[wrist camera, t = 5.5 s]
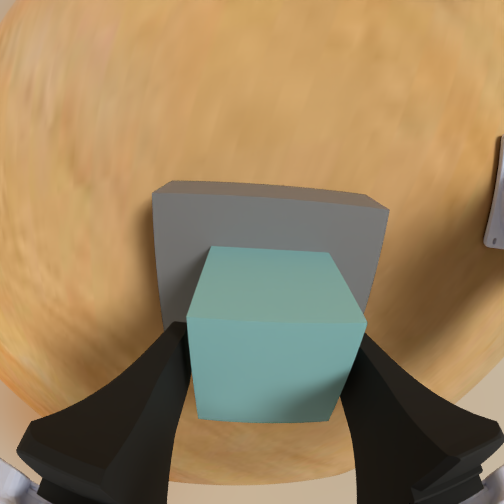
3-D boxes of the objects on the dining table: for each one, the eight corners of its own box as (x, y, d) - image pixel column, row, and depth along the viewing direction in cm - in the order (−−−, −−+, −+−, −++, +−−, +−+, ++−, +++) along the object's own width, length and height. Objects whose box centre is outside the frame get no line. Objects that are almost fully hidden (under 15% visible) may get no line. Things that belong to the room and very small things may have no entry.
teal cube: (328, 252, 12) (367, 322, 7) (310, 341, 14) (328, 421, 9) (211, 246, 12) (186, 316, 7) (212, 337, 14) (198, 418, 9)
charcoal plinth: (365, 194, 14) (389, 209, 11) (331, 344, 18) (341, 376, 15) (171, 180, 14) (151, 192, 11) (180, 337, 18) (170, 369, 15)
